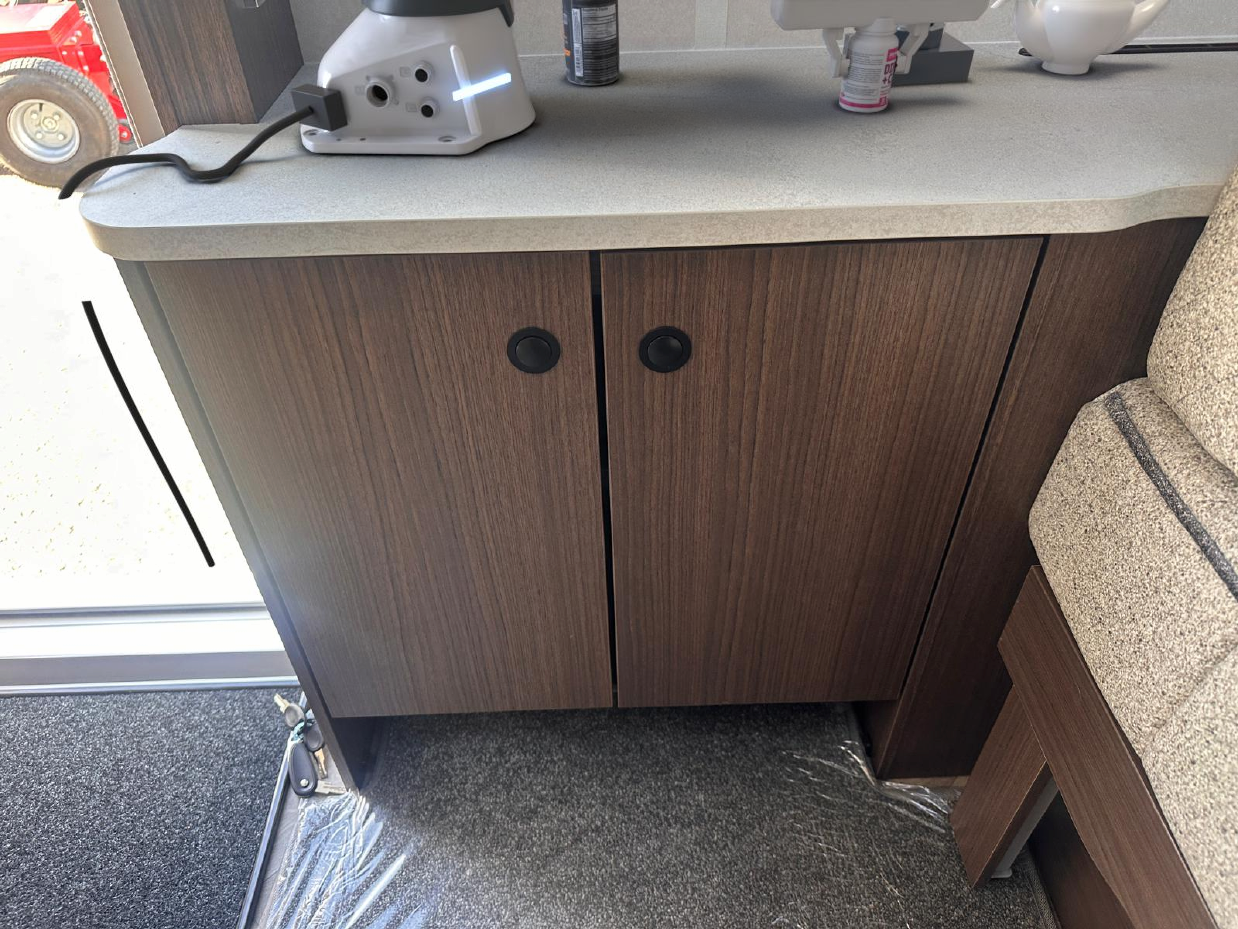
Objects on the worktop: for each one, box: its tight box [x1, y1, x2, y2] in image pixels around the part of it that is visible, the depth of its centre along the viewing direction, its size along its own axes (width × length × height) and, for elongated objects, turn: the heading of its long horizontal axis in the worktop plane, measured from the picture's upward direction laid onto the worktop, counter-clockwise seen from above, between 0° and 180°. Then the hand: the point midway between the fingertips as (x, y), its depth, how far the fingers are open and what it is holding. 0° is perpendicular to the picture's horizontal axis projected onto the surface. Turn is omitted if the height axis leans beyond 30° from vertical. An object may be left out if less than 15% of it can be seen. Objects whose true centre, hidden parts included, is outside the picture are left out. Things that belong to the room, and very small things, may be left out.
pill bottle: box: [838, 18, 899, 114], centre depth 81 cm, size 5×5×8 cm
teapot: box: [990, 0, 1173, 76], centre depth 89 cm, size 10×20×9 cm, turn 91°
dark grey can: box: [561, 0, 621, 86], centre depth 89 cm, size 6×6×11 cm
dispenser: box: [842, 22, 975, 87], centre depth 91 cm, size 11×9×5 cm
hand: (868, 74), depth 82 cm, fingers closed on pill bottle, 5 cm apart
